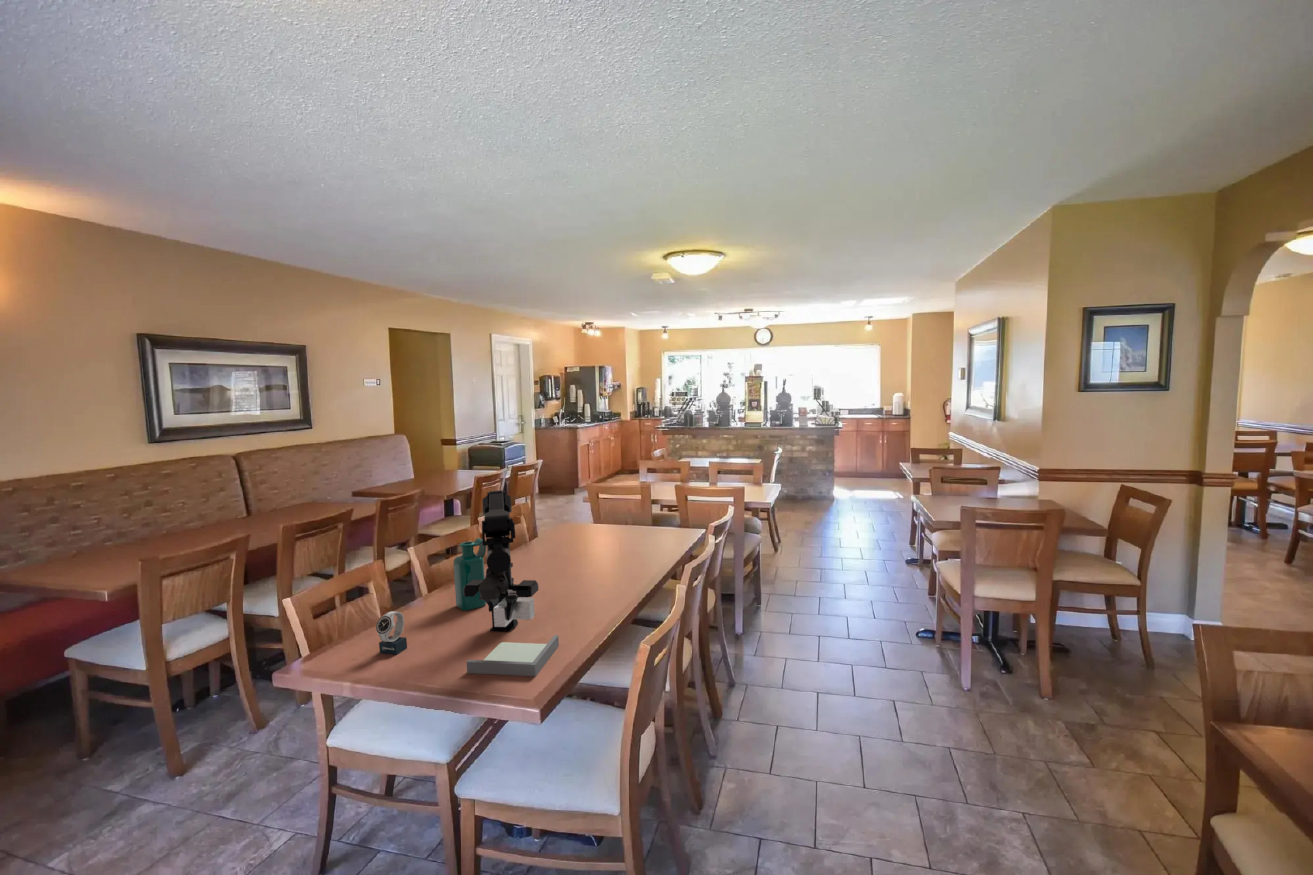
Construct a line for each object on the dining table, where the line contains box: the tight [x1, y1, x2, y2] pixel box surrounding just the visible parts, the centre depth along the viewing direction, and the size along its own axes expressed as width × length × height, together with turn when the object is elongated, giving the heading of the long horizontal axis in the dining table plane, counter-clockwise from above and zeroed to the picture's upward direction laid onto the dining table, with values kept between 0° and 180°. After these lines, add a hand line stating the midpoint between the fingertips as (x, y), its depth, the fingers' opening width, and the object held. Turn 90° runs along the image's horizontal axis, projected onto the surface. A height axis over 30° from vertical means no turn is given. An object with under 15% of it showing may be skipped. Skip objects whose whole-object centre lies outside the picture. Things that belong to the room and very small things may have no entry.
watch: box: [375, 610, 408, 656], centre depth 159 cm, size 6×8×11 cm
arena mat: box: [483, 641, 548, 662], centre depth 152 cm, size 16×16×1 cm
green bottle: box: [453, 537, 487, 612], centre depth 192 cm, size 10×8×22 cm
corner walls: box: [465, 634, 560, 677], centre depth 151 cm, size 18×17×3 cm
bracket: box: [493, 597, 536, 627], centre depth 151 cm, size 8×8×5 cm
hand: (502, 619), depth 150 cm, fingers closed on bracket, 3 cm apart
